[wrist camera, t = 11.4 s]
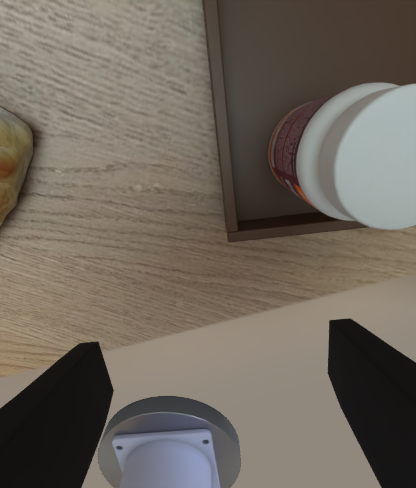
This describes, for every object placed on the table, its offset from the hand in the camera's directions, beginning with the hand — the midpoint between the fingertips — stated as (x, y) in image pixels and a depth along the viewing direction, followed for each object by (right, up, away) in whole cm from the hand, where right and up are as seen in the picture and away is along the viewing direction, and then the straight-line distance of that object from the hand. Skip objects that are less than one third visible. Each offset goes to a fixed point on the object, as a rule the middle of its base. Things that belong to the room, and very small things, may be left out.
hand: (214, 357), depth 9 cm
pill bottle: (+5, +9, +7) cm, 13 cm away
